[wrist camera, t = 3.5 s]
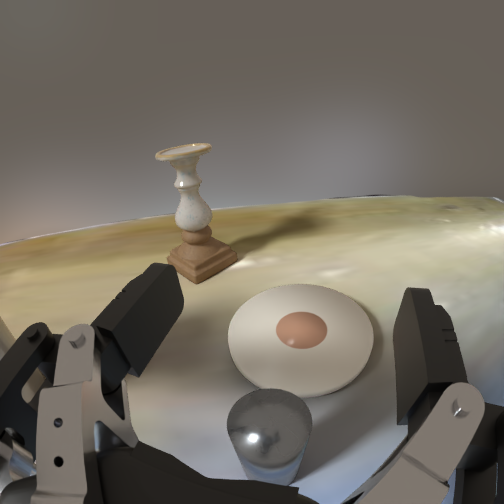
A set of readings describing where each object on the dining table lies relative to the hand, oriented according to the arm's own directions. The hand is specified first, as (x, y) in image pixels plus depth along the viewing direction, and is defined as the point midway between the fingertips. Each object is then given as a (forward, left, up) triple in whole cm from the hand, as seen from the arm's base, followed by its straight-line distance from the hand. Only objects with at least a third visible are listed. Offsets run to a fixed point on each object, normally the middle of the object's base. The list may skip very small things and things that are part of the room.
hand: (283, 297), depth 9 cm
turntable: (+5, +19, -24) cm, 31 cm away
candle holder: (-11, +43, -26) cm, 51 cm away
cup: (-1, +1, -25) cm, 25 cm away
